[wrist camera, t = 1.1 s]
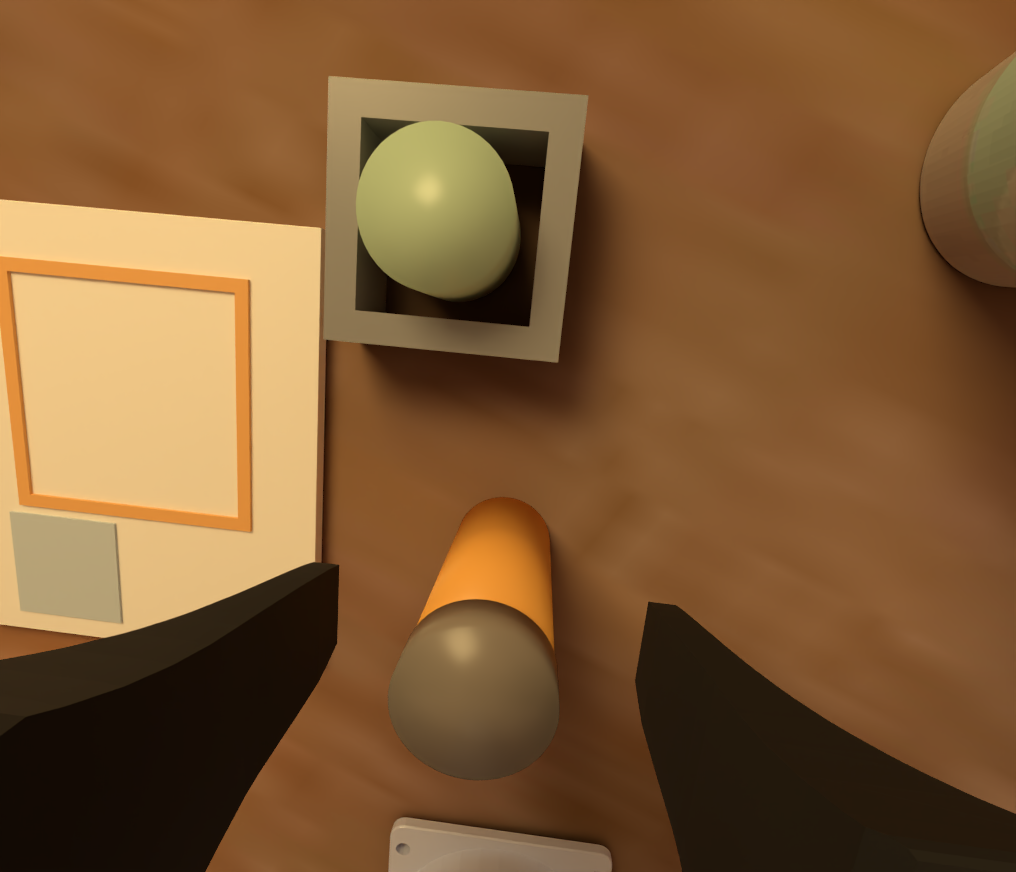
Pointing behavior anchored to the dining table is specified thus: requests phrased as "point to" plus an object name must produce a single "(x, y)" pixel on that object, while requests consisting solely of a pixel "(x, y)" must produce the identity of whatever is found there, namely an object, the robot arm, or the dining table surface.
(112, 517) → the sheet
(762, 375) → the dining table surface
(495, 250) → the button
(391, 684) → the marker
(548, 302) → the button housing
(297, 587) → the robot arm
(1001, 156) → the coffee cup
